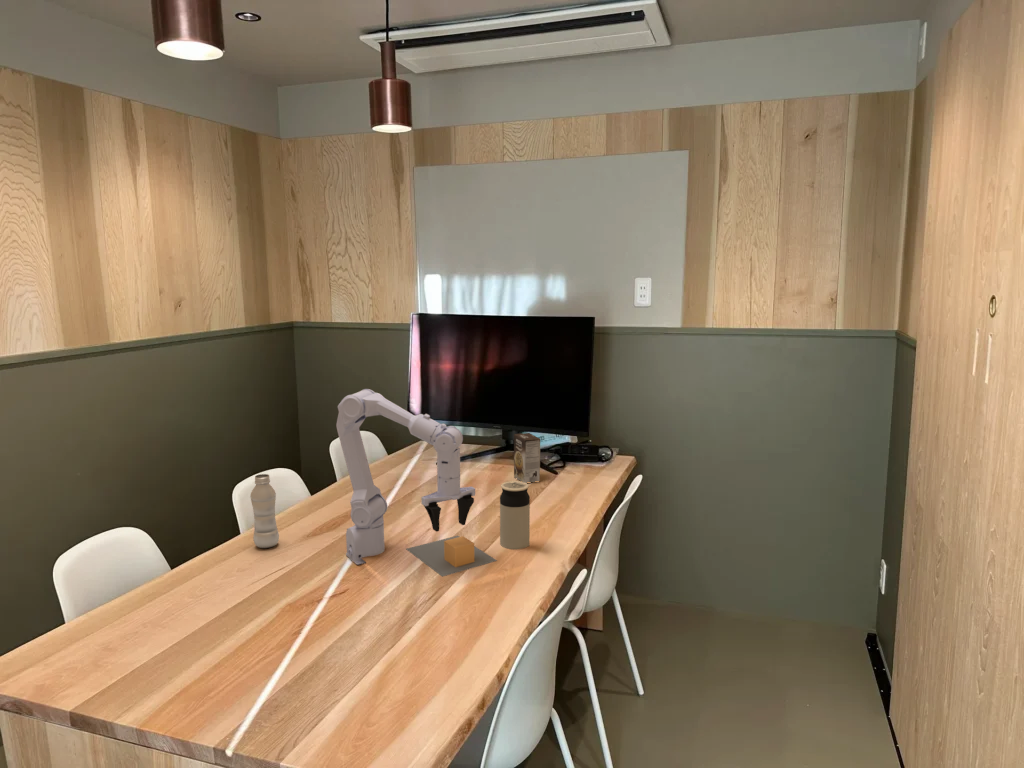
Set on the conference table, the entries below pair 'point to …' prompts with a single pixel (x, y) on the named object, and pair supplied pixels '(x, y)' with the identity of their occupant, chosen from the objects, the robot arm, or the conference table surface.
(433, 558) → the board
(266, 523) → the plastic bottle
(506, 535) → the travel mug
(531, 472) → the coffee box
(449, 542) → the wooden toy cube
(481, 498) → the conference table surface
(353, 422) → the robot arm
